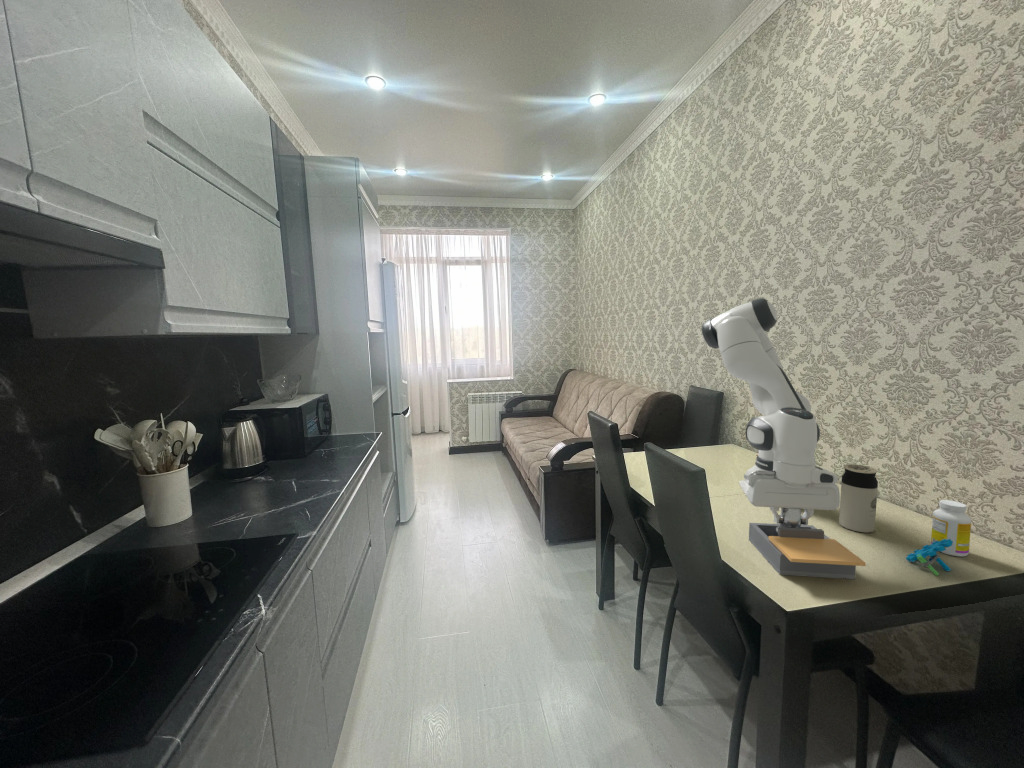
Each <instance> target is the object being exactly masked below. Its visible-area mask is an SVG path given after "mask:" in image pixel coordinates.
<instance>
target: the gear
mask: <svg viewBox="0 0 1024 768" xmlns="http://www.w3.org/2000/svg"><path fill="white" fill-rule="evenodd" d="M952 543H953V541H952V540H951V539H948V540H946V539H943V540H941V541H936V542H933V543H932V544H931V543H930V544H925V545H923V546H922V547H921V549H919V548H918V549H915V550H913V551H912V552H911V553H909V554H908V555H906V557H905V558H906V561H908V562H912V563H914V562H916V561H919V562H920V564H922V566H923V567H924V568H925V567H927V569H929V570H930V571H931V572H932V573H933V574H934V575H935V576H939V575H940V573H939V572H938V571H937V570H936V569H935V568H934V567H933V566H932V564H933V563H934V562H935V561H936V562H937V564H939V566H940V567H941V568H942V569H944V570H945V572H949V571H951V570H952V569H951V568H950V566H949V565H947V564H946V563H945V562H944V561H943V560H942V559H941V558H940V555H939V554H938V552H939V551H940V553H942V552H941V551H944V550H946V549H945V548H944V547H950V546H951V545H953V544H952ZM927 557H929V558H928V559H927Z"/></svg>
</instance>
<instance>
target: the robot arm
mask: <svg viewBox="0 0 1024 768" xmlns="http://www.w3.org/2000/svg"><path fill="white" fill-rule="evenodd" d="M777 315H778V314H777V310H776V308H775V306H774V305H773V303H771V302H770V301H769V300H768V299H766V298H763V297H761V298H757V299H753V300H751V301H749V302H746V303H743V304H739V305H738V306H735V307H732V308H730V309H729V310H726V311H725V312H723V313H721V314H719V315H717V316H715V317H714V318H712V317H711V318H709V319H708V320H707V321H705V322H704V323H703V324H702V326H701V336H702V338H703V341H704V342H705V343H706V344H707V346H709V348H712V349H719V353H720V357H721V360H722V363H723V365H724V368H725V370H726V371H727V372H728V373H729V374H730V375H731V376H732V377H734V378H736V379H738V380H741V381H745V382H748V384H749V389H750V393H751V398H752V399H751V402H752V405H753V407H754V408H755V410H757V412H759V413H760V414H762V415H760V416H755V417H752V418H751V419H749V421H748V422H747V424H746V427H745V438H746V440H747V442H748V444H749V445H750V446H751V447H752V448H753V449H754V450H756V451H758V454H756V458H755V462H754V465H753V466H752V467H750V468H748V469H747V471H746V473H744V474H743V479H741V480H739V482H738V484H739V486H740V488H741V489H742V491H743V493H744V494H745V496H746V498H747V500H748V502H749V503H750V504H751V505H753V507H756V508H759V507H760V508H769V510H770V511H771V512H772V514H773V522H774V524H783V517H781V514H779V513H778V512H780V509H781V508H797V509H802V510H804V512H803V513H802V514H801V525H809V519H810V518H811V517H812V516H813V515H814V514H815V510H819V511H823V510H824V511H836V510H837V509H838V508H840V497H841V491H840V488H839V486H838V485H837V483H838V481H839V477H838V475H836V474H835V473H833V472H832V471H829V470H827V469H824V468H822V467H820V466H817V464H816V463H817V462H816V458H815V452H816V450H817V447H818V443H819V440H820V437H821V430H820V427H819V424H818V422H817V420H816V417H815V415H814V413H812V405H811V402H810V401H809V399H808V398H807V397H806V396H805V395H804V394H802V393H800V392H798V391H796V390H795V388H794V386H793V384H792V383H791V381H790V379H789V377H788V376H787V374H786V373H785V371H784V370H783V369H784V365H783V364H782V362H781V360H780V358H779V356H778V353H777V352H776V349H775V347H774V345H773V343H772V341H771V339H770V338H769V336H768V335H767V333H769V332H770V330H771V329H772V328H773V327H775V325H776V324H777V318H778V317H777ZM766 332H767V333H766Z"/></svg>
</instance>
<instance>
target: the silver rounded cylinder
mask: <svg viewBox="0 0 1024 768" xmlns="http://www.w3.org/2000/svg"><path fill="white" fill-rule="evenodd" d="M802 511H803V509H797V508H780V515H781V517H783V524H780V526H778V527H785V528H801V516H802V514H803V513H802ZM778 527H776V534H777V535H778Z"/></svg>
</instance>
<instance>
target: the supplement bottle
mask: <svg viewBox="0 0 1024 768" xmlns="http://www.w3.org/2000/svg"><path fill="white" fill-rule="evenodd" d="M938 506H939V508H938V509H935V510H934V511H933V512H932V525H931V538H930V545H931V544H932V543H933V542H936V541H941V540H943V539H946V540H948V539H951V540H952V541H953V543H952V544H953V545H951V546H950V547H944V548H945V549H946V550H944V551H941V552H940V551H938V552H940V553H942V554H945V555H949V556H955V557H966V556H968V555H969V553H970V543H971V531H972V518H971V517H970V516H969V515H968V514H966V511H967V505H966V504H965V503H963V502H959V501H956V500H955V501H954V500H950V499H940V500H939V504H938Z"/></svg>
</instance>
